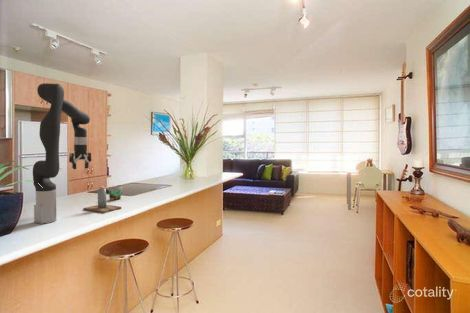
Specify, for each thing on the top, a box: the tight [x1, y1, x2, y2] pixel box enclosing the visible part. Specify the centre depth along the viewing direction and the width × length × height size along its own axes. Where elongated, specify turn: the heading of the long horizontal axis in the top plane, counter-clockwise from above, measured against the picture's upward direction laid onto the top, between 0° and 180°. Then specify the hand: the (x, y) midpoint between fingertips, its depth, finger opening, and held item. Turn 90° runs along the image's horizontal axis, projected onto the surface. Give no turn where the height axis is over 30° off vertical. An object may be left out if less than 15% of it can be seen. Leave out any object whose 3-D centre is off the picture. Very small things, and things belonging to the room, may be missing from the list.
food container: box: [108, 184, 123, 202], centre depth 211 cm, size 12×6×10 cm, turn 168°
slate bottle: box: [97, 185, 108, 208], centre depth 180 cm, size 5×5×14 cm
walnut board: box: [82, 204, 122, 214], centre depth 180 cm, size 14×18×1 cm
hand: (80, 168), depth 183 cm, fingers open, 8 cm apart
